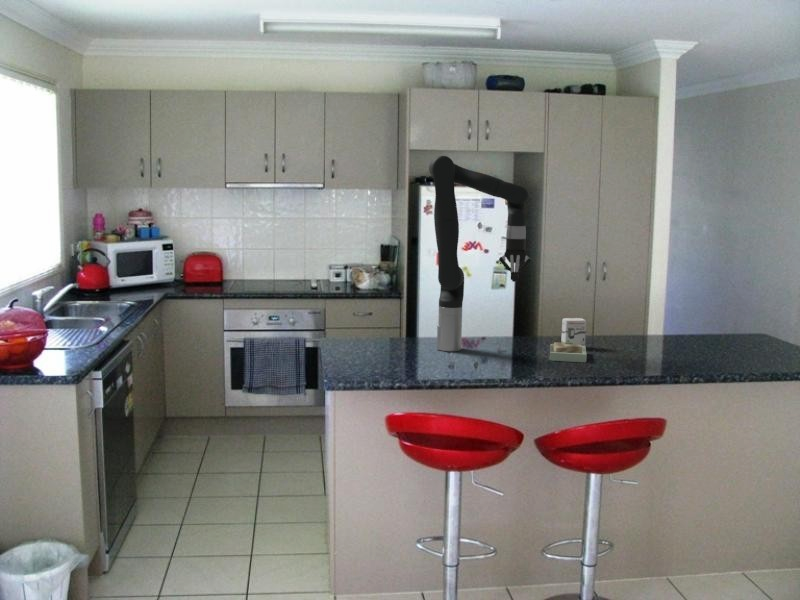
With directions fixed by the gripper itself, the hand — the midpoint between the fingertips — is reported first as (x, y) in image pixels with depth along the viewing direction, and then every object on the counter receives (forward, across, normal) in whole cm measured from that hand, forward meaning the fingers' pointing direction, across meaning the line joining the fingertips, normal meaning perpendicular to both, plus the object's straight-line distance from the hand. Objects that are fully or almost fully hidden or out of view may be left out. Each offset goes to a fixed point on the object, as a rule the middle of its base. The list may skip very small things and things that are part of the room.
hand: (514, 281), depth 335 cm
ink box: (+27, +24, +8) cm, 37 cm away
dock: (+27, +22, -10) cm, 36 cm away
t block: (+27, +21, -10) cm, 35 cm away
